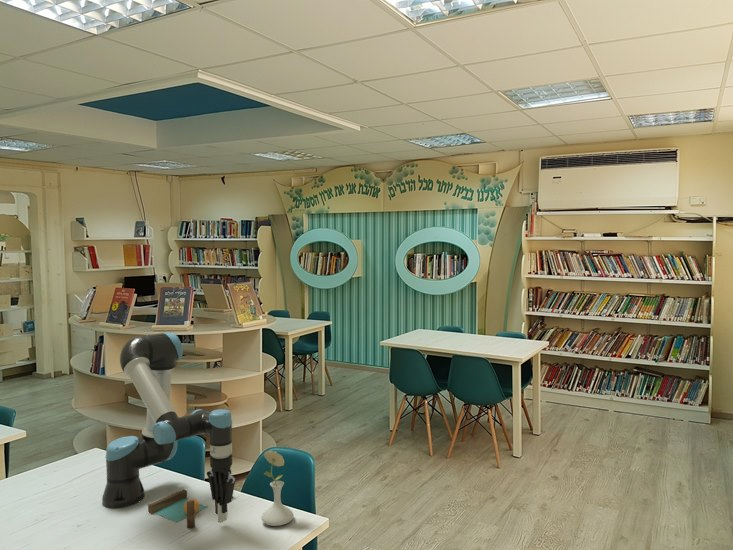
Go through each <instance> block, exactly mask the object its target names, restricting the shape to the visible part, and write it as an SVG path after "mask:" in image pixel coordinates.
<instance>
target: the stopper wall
mask: <svg viewBox="0 0 733 550" xmlns="http://www.w3.org/2000/svg"><path fill="white" fill-rule="evenodd" d="M185 498H186V499H188V490H187V489H181V490H179V491H176V492H174V493H172V494H170V495H168V496H165V497H163V498H161V499H158V500H155V501H153V502H151V503H148V505H147V513H148V512H149V513H148V514H150V513H151V514H150V515H152V513H153V514H155V513H154V512H156V511H158V510H160V509H162V508H165V507H167V506H169V505H171V504H174V503H176V502H178V501H180V500H182V499H185Z"/></svg>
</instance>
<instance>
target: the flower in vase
mask: <svg viewBox="0 0 733 550" xmlns="http://www.w3.org/2000/svg"><path fill="white" fill-rule="evenodd" d="M263 457H264V458H265V460H266V461H267V462H268V463H269V464H271V467H270V472H269V471H265V472H264V473H263V475H264V476H267V477H269V478H272V480H273V481H271V482H270V483H269V486H270V487H271V488H272V491H273V498H274V499H273V503H272V505H270V506H269V507H268V508H267V509H265V511H264V512H263V513H262V515H261V521H262V522H263V523H264V524H265V525H268V526H273V527H274V526H275V527H277V526H279V527H280V526H283V525H287V524H289V523H290V522H292V520H293V519H294V512H293V511H292V510H291V509H290V507H288V506H285V505H284V504H283V503H282V499H281V494H282V493H281V492H282V488H283V486H285V482H284V481H282V480H280V479H282V478H283V475H284V474H279V475H277V477H276V478H275V477H274V475H273V466H274V467H282V466H285V459H284V458H283V457H284V456H283V455H281V454H280V453H278V452H277V451H273V450H270V449H269V450H268V451H265V452H264V456H263Z"/></svg>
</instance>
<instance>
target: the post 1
mask: <svg viewBox="0 0 733 550" xmlns="http://www.w3.org/2000/svg"><path fill="white" fill-rule="evenodd" d="M188 500H189V501H187V518H186V528H187V529H190V530H192V529H194V528H195V527H196V519H195V518H196V515H195V504H194V500H190V499H188Z"/></svg>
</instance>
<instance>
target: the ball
mask: <svg viewBox="0 0 733 550" xmlns="http://www.w3.org/2000/svg"><path fill="white" fill-rule="evenodd" d="M189 500H194V504H195V514H196V513H199V512H198V510H199V504H200V503H199V501H198V500H197V499H195V498H191V499H188V501H189ZM184 511H185V513H186V514H187V502H186V503H185V504H184Z"/></svg>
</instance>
